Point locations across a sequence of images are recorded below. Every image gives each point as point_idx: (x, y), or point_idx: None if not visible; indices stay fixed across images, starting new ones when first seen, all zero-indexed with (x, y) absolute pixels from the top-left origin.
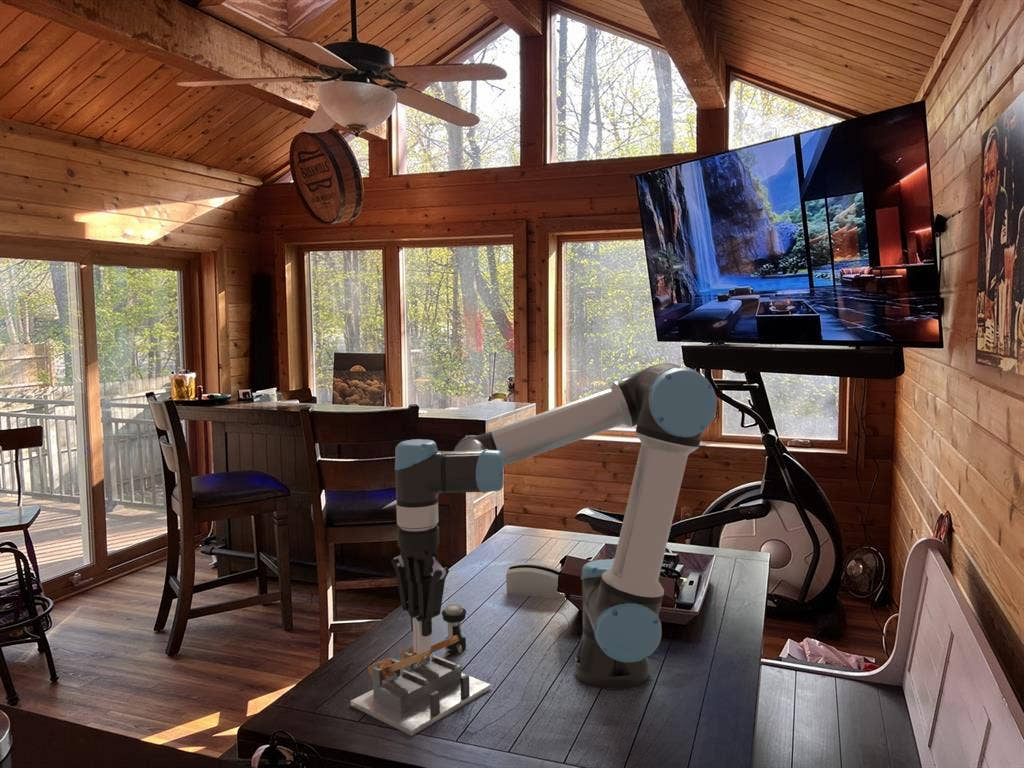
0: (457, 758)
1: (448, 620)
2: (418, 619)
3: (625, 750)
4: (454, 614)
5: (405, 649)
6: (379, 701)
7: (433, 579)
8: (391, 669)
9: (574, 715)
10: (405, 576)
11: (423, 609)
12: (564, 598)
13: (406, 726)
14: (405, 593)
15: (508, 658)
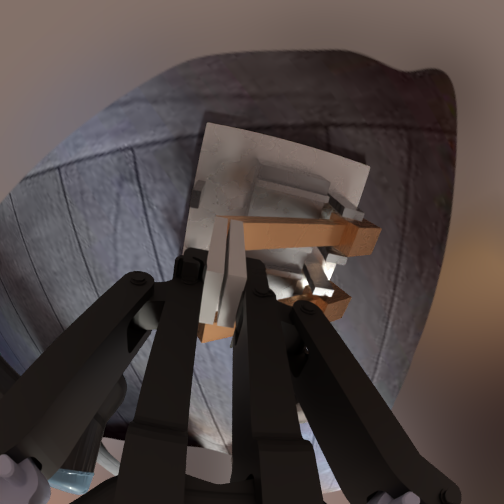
0: (105, 110)
1: None
2: (191, 259)
3: None
4: (296, 406)
5: (336, 301)
6: (318, 175)
7: (4, 431)
8: (321, 221)
9: (51, 282)
10: (348, 451)
11: (166, 301)
12: (231, 459)
13: (223, 128)
14: (318, 366)
15: (209, 371)
